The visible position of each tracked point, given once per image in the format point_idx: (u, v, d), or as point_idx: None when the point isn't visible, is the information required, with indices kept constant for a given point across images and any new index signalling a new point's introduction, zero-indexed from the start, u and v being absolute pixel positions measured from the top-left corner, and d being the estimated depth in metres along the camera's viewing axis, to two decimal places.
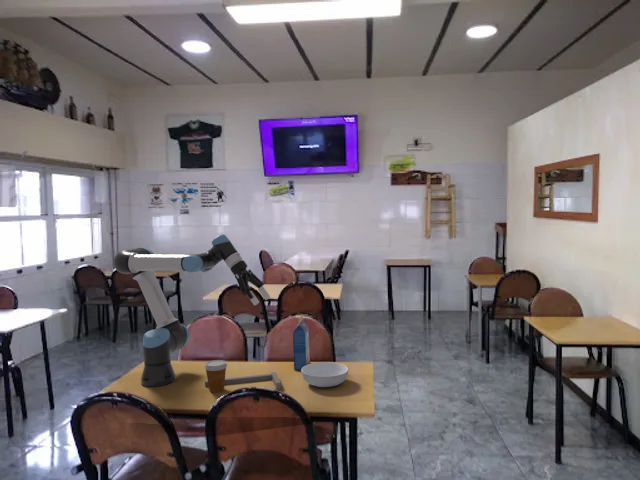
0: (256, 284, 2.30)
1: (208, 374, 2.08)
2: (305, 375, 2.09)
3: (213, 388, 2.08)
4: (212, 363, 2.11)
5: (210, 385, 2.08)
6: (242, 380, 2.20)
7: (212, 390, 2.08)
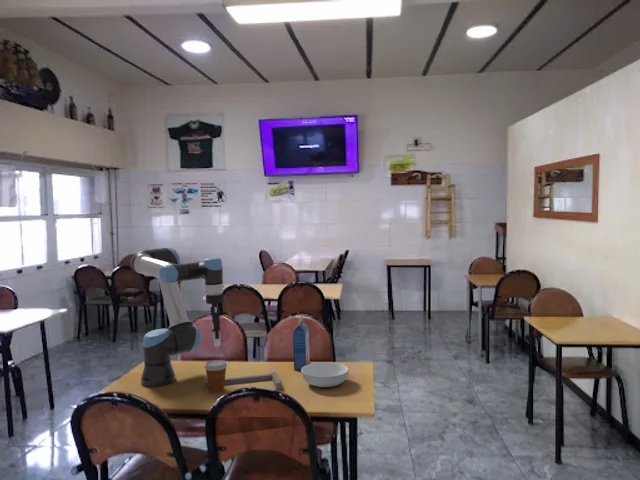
0: None
1: (208, 374, 2.08)
2: (305, 375, 2.09)
3: (213, 388, 2.08)
4: (212, 363, 2.11)
5: (210, 385, 2.08)
6: (242, 380, 2.20)
7: (212, 390, 2.08)
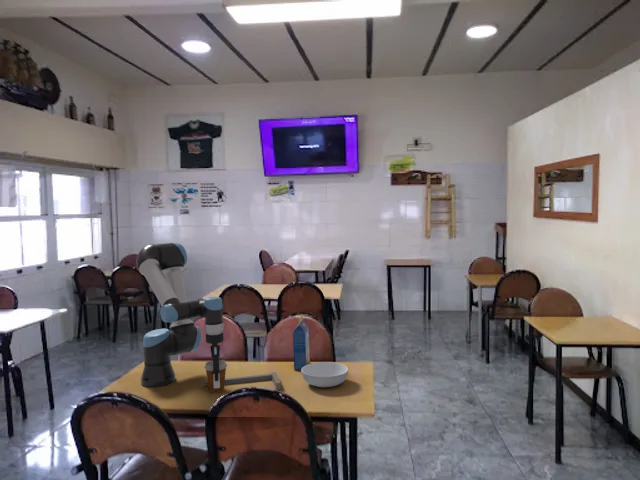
0: None
1: (208, 374, 2.08)
2: (305, 375, 2.09)
3: (213, 388, 2.08)
4: (212, 363, 2.11)
5: (210, 385, 2.08)
6: (242, 380, 2.20)
7: (212, 390, 2.08)
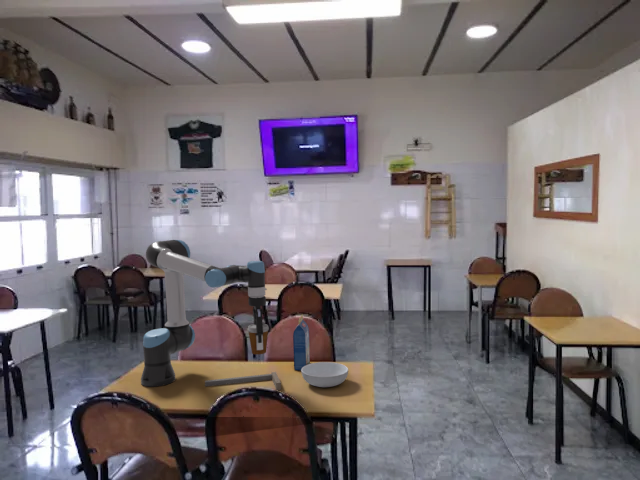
0: (256, 324, 2.18)
1: (251, 336, 2.11)
2: (305, 375, 2.09)
3: (255, 350, 2.12)
4: (254, 326, 2.15)
5: (253, 347, 2.12)
6: (242, 380, 2.20)
7: (255, 352, 2.12)
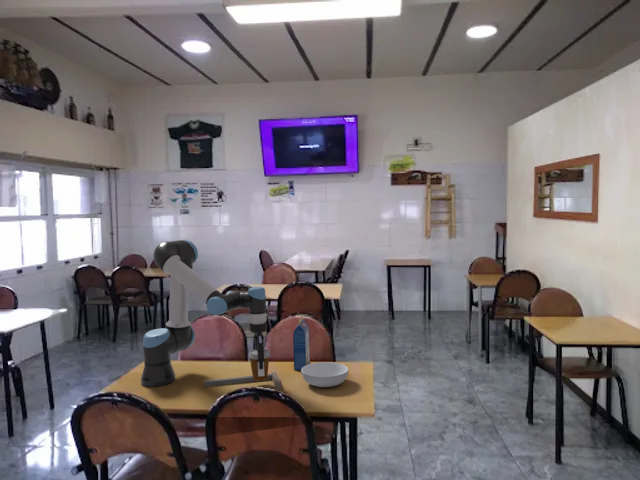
0: (257, 350, 2.19)
1: (252, 362, 2.12)
2: (305, 375, 2.09)
3: (257, 376, 2.12)
4: (256, 352, 2.15)
5: (254, 373, 2.13)
6: (242, 380, 2.20)
7: (256, 378, 2.13)
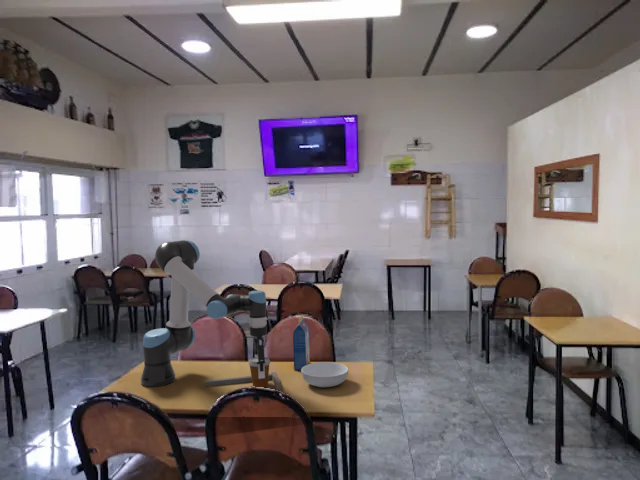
0: (257, 350, 2.20)
1: (252, 370, 2.10)
2: (305, 375, 2.09)
3: (257, 384, 2.10)
4: (256, 360, 2.14)
5: (254, 381, 2.10)
6: (242, 380, 2.20)
7: (256, 386, 2.10)
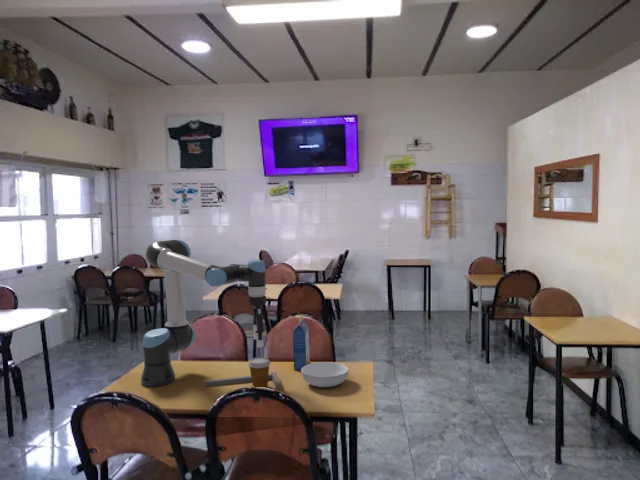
0: (256, 320, 2.20)
1: (252, 371, 2.10)
2: (305, 375, 2.09)
3: (257, 385, 2.10)
4: (255, 361, 2.13)
5: (254, 382, 2.10)
6: (242, 380, 2.20)
7: None
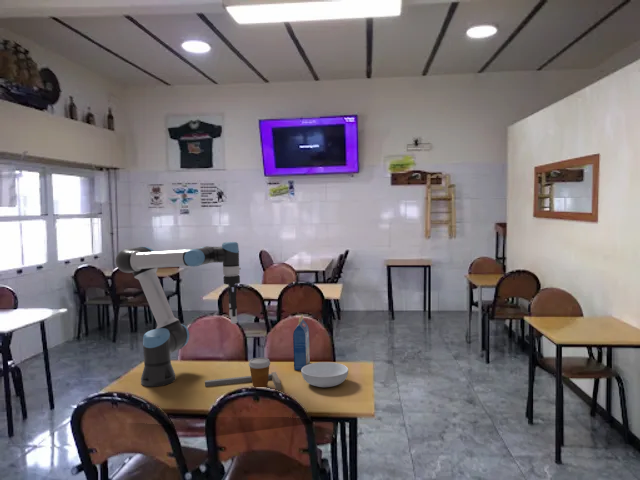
0: None
1: (252, 371, 2.10)
2: (305, 375, 2.09)
3: (257, 385, 2.10)
4: (256, 361, 2.13)
5: (254, 382, 2.10)
6: (242, 380, 2.20)
7: None
